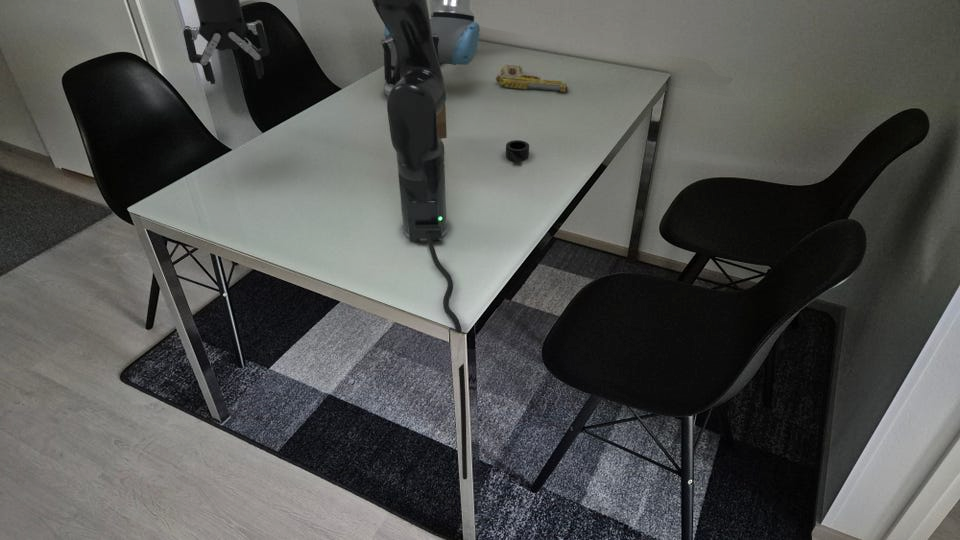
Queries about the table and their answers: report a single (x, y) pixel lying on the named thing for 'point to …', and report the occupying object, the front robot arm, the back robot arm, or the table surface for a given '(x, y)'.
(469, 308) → the table surface
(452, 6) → the back robot arm
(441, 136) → the box
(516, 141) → the duct tape
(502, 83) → the handgun
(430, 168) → the front robot arm
